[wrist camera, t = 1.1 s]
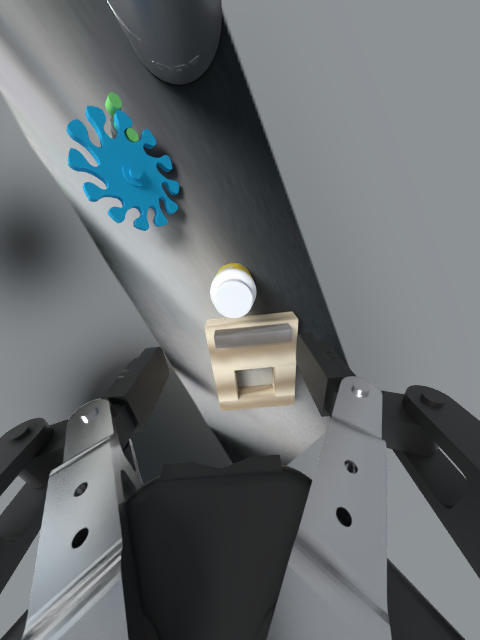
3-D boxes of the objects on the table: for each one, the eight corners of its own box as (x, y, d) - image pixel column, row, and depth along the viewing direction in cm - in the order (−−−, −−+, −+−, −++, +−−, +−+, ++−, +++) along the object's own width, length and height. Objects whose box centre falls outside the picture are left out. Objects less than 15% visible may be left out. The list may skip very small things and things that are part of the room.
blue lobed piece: (187, 233, 23) (85, 221, 16) (166, 238, 27) (77, 231, 20) (175, 121, 20) (41, 46, 13) (153, 146, 23) (42, 100, 17)
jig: (207, 319, 30) (202, 334, 25) (292, 311, 29) (302, 325, 25) (222, 398, 37) (220, 420, 33) (289, 392, 37) (297, 413, 32)
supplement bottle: (257, 288, 28) (268, 312, 19) (226, 303, 29) (222, 333, 20) (242, 254, 26) (246, 264, 17) (208, 272, 26) (195, 289, 18)
